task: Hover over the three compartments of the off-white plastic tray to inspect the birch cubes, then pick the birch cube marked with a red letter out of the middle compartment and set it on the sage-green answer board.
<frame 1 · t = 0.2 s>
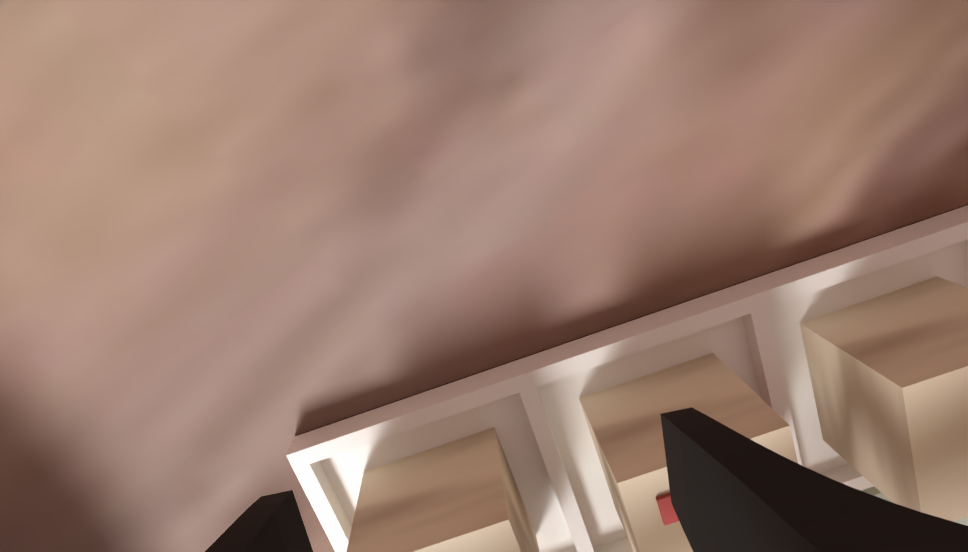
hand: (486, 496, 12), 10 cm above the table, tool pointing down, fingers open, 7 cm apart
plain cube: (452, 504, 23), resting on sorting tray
lettered cube: (662, 433, 22), resting on sorting tray
sorting tray: (658, 428, 23), on the table
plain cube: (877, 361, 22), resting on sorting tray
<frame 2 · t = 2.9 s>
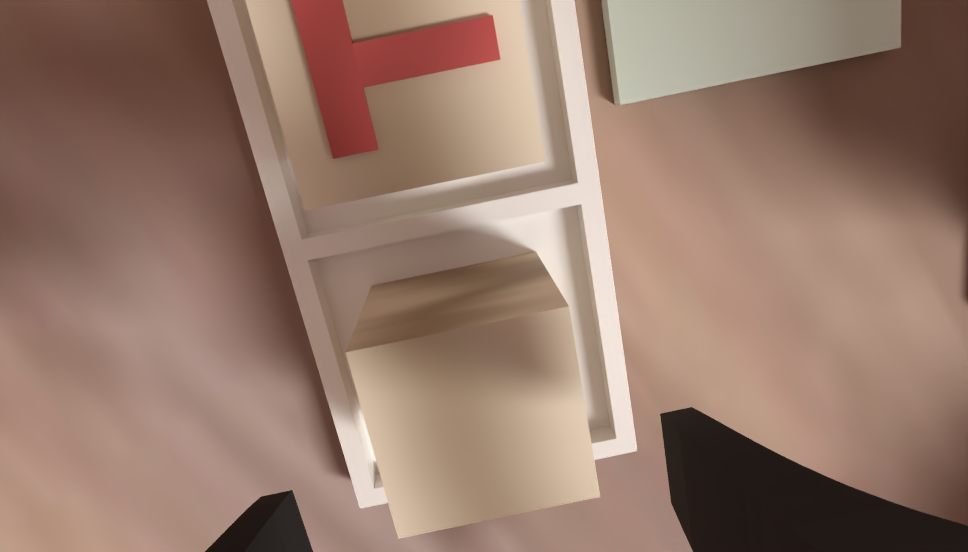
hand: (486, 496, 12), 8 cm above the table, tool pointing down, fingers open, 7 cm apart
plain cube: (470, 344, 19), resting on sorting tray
lettered cube: (410, 70, 16), resting on sorting tray
sorting tray: (411, 71, 17), on the table
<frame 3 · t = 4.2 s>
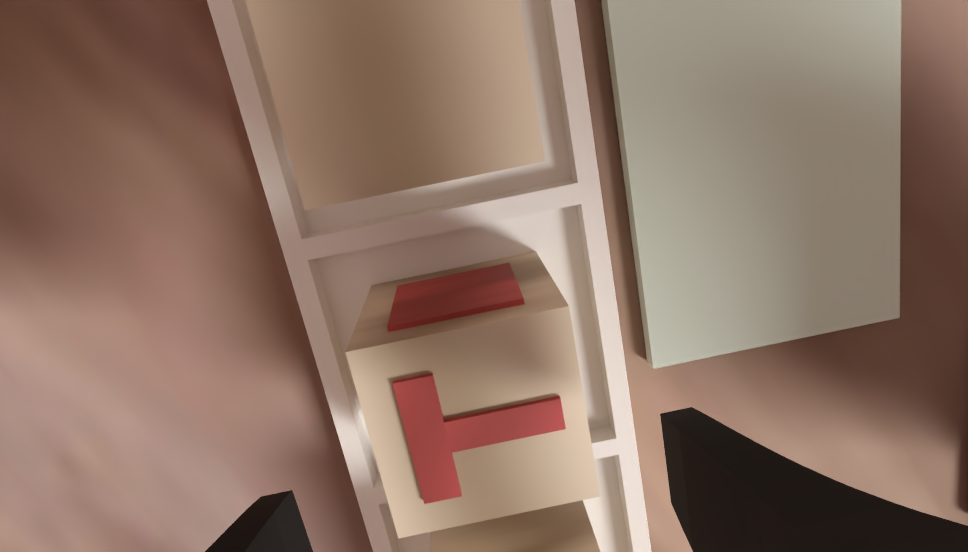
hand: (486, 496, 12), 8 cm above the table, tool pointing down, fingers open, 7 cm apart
answer board: (753, 119, 18), on the table
lettered cube: (470, 344, 19), resting on sorting tray
sorting tray: (469, 339, 19), on the table
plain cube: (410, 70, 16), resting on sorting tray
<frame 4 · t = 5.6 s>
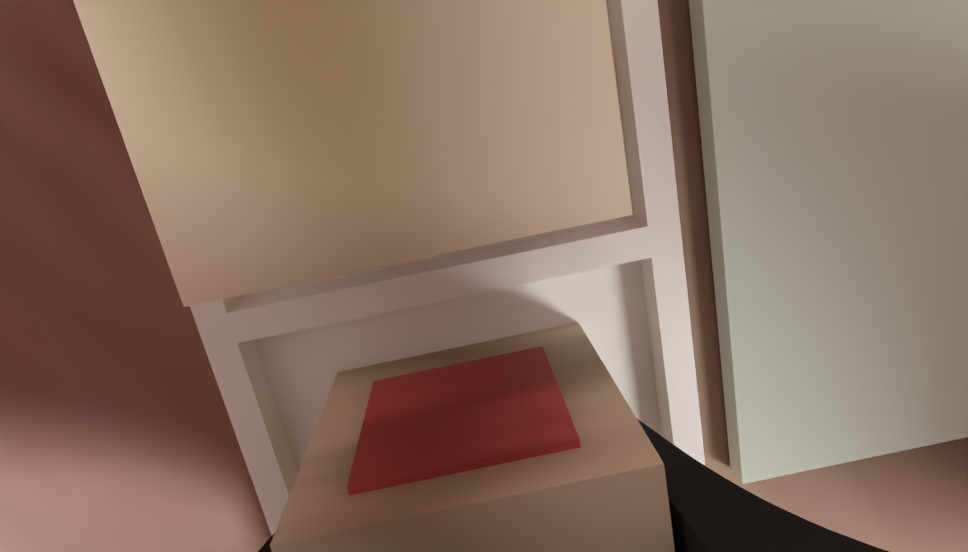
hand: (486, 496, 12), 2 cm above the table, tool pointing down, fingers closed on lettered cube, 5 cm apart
answer board: (900, 128, 12), on the table
lettered cube: (481, 452, 13), resting on sorting tray, touching gripper
sorting tray: (480, 442, 13), on the table
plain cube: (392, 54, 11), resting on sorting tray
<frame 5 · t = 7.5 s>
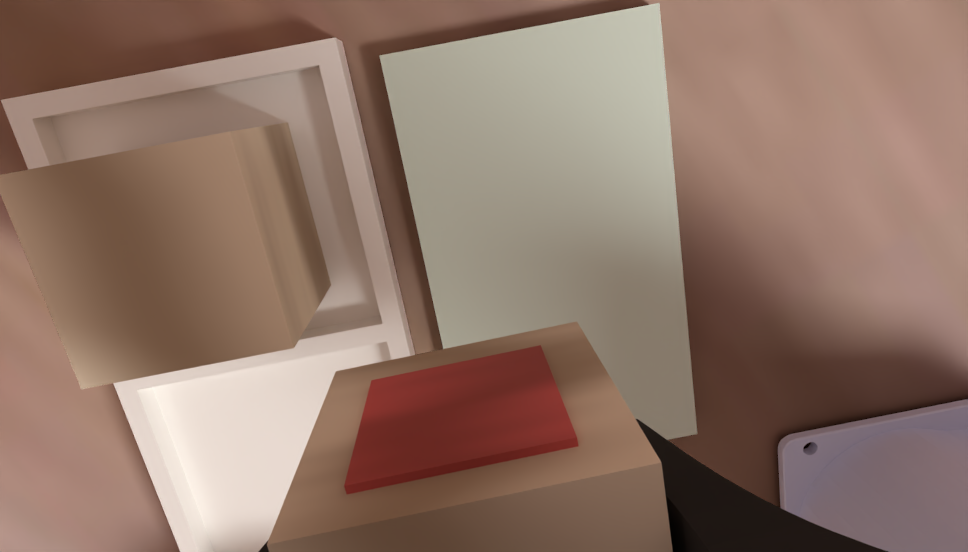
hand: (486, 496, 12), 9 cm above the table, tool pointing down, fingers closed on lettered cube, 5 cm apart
answer board: (552, 260, 20), on the table
lettered cube: (480, 451, 13), point 7 cm above the table, touching gripper
sorting tray: (303, 450, 21), on the table
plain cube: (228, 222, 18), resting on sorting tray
when the fingers open (3 cm above the table, at t = 9.3 s): lettered cube drops 1 cm, resting on answer board.
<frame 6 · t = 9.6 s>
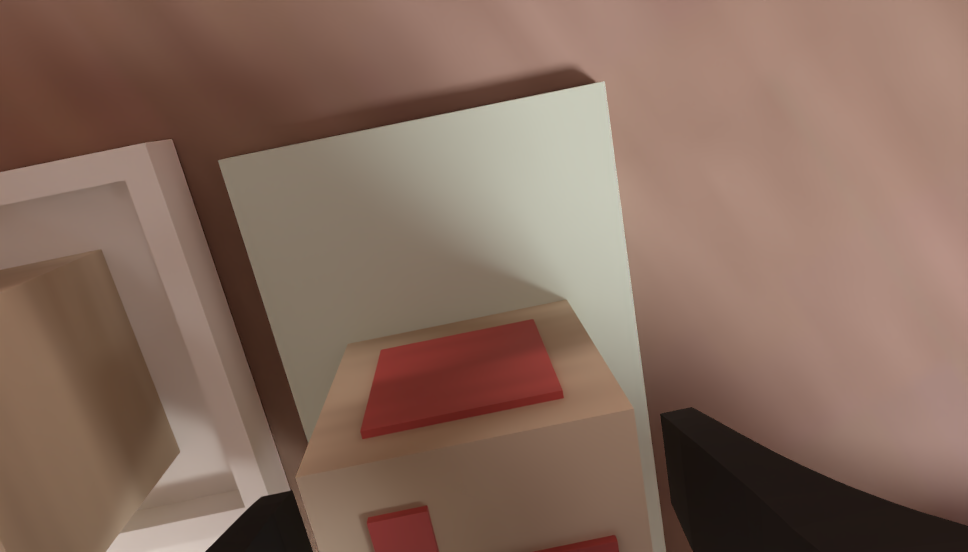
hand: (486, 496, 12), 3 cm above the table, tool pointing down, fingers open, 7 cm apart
answer board: (477, 409, 15), on the table
lettered cube: (478, 419, 14), point 1 cm above the table, touching answer board
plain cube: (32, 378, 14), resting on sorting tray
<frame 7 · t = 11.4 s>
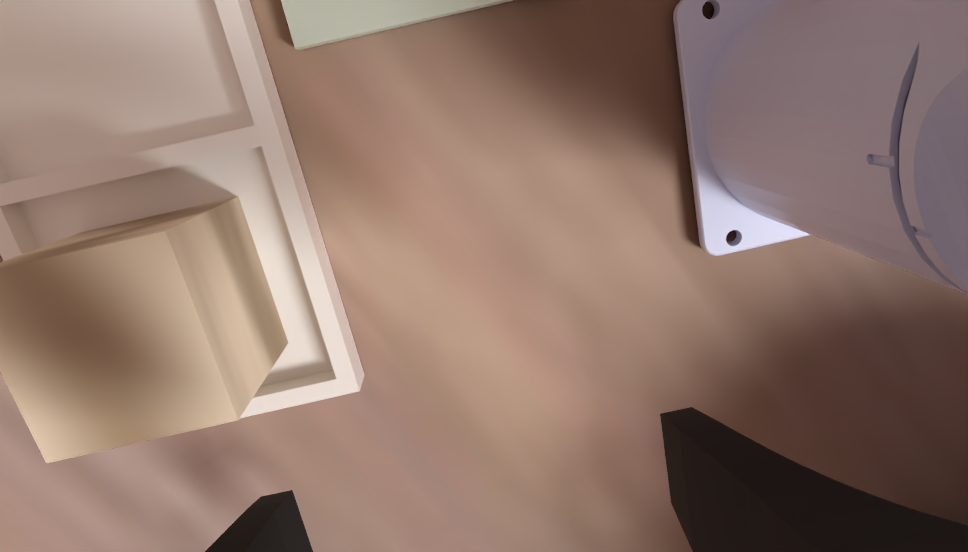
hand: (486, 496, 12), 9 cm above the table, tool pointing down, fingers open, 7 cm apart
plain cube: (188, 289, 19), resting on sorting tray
sorting tray: (92, 20, 17), on the table
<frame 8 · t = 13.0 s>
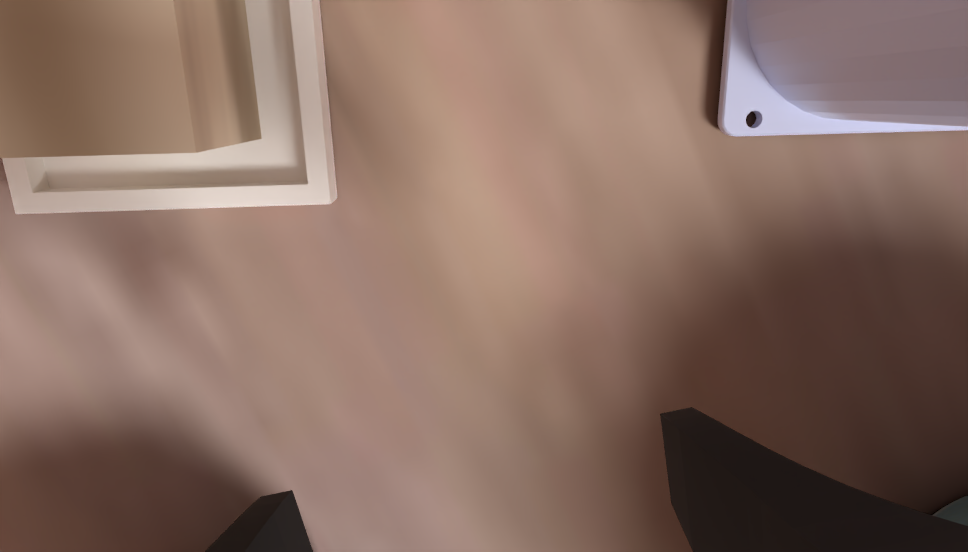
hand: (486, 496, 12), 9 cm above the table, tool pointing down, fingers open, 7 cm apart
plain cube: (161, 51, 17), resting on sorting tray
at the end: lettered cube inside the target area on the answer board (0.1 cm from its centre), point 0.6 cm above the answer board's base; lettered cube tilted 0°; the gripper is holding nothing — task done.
